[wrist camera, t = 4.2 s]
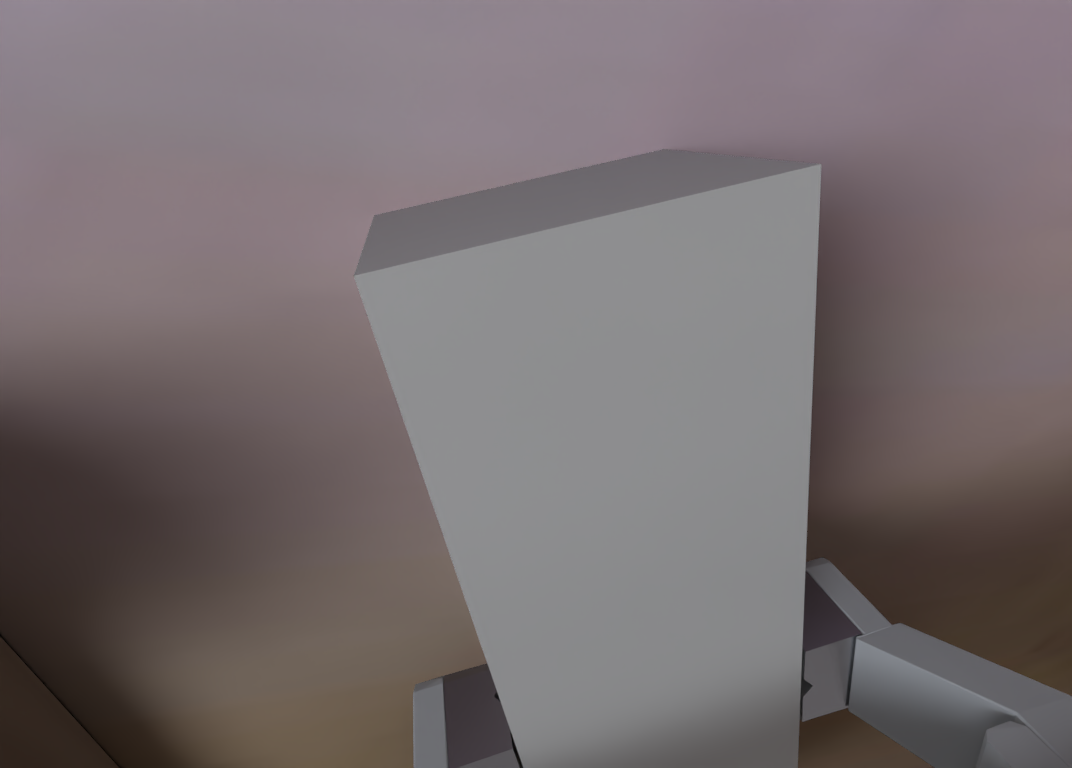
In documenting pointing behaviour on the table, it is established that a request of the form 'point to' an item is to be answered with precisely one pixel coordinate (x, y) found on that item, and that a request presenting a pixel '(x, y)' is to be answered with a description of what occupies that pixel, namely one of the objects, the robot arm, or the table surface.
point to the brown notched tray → (39, 724)
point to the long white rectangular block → (618, 444)
